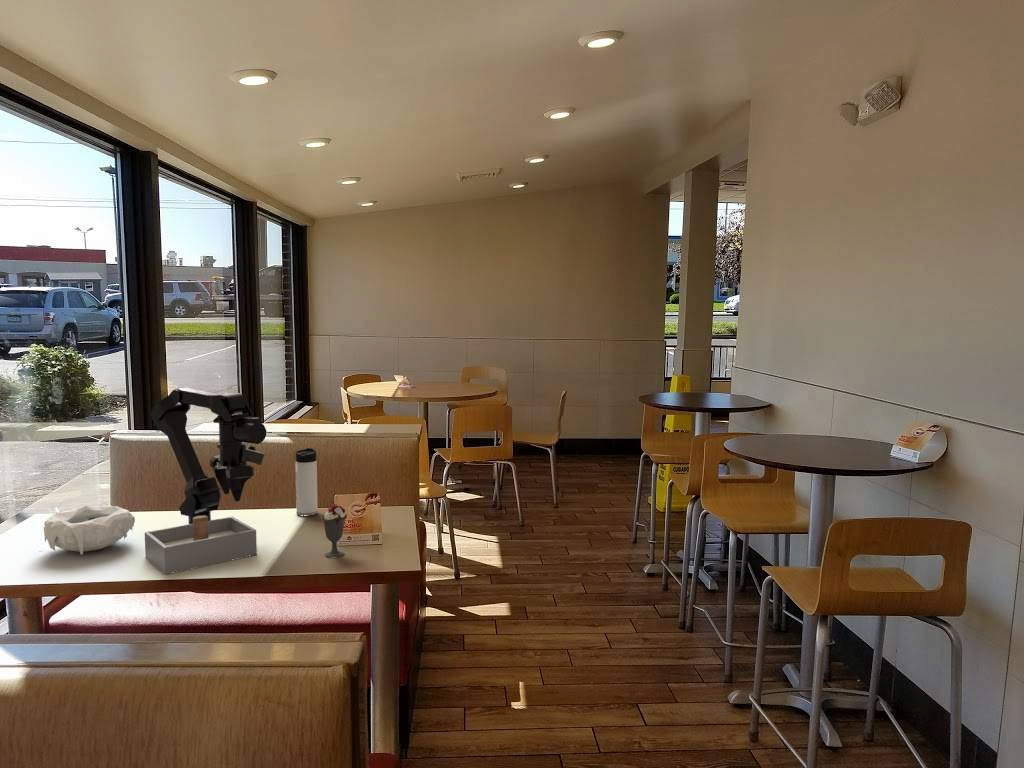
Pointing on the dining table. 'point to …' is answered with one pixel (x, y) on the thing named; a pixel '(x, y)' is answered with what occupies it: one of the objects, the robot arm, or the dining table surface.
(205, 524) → the peg
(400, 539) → the dining table surface
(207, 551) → the box
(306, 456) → the travel mug
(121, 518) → the bowl
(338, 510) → the sundae
